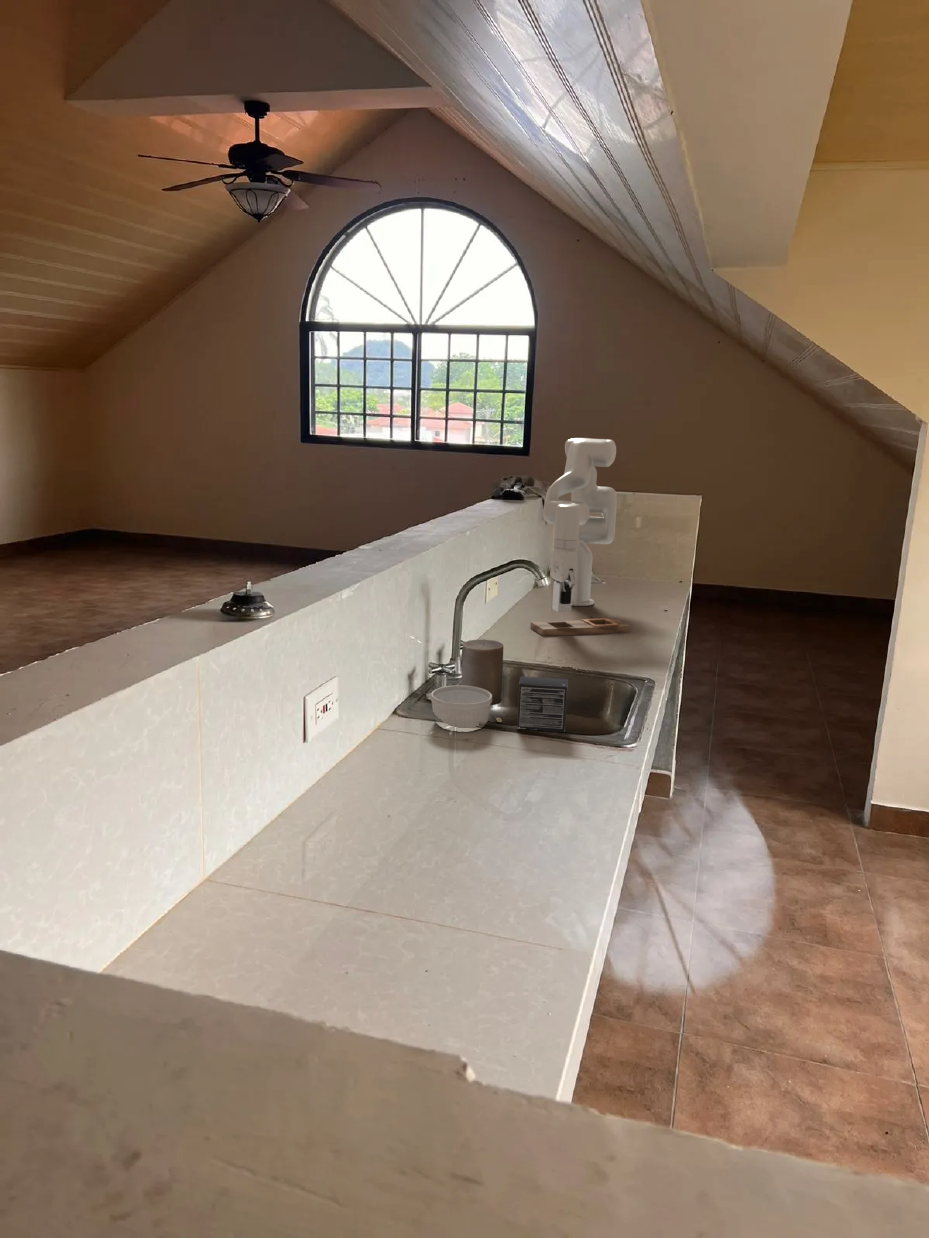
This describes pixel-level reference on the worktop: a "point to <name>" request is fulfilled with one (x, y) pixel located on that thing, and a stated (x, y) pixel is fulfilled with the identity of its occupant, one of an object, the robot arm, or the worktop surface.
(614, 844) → the worktop surface
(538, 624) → the tan flat board
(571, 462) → the robot arm
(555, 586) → the grey square block
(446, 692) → the ramekin
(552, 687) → the small box
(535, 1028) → the worktop surface
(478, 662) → the pillar candle
